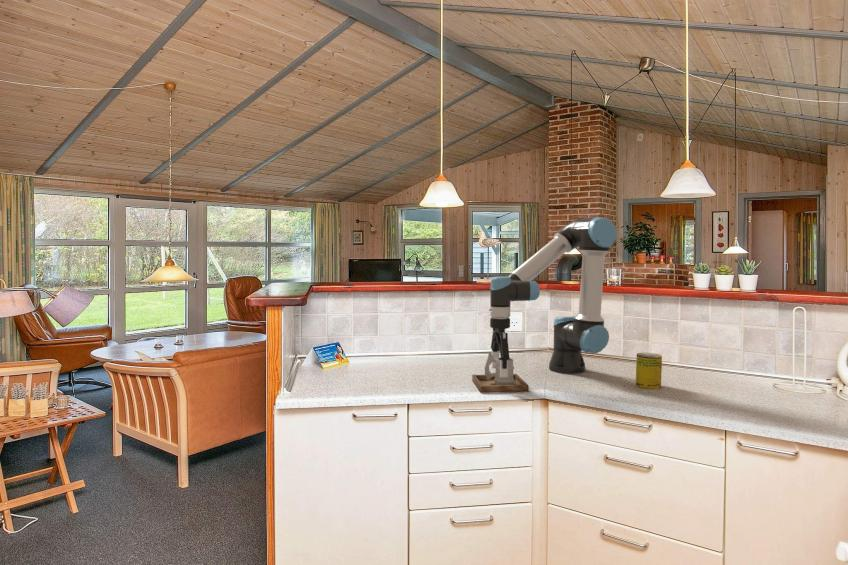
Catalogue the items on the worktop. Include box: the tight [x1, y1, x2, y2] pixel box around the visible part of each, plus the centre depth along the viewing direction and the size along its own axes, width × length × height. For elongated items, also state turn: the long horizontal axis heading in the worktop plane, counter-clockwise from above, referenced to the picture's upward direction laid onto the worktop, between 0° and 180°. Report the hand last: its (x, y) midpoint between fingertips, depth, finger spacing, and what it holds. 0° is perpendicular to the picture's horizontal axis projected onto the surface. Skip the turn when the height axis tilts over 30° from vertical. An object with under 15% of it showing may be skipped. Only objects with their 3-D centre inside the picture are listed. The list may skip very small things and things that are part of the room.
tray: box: [471, 373, 530, 394], centre depth 212 cm, size 18×17×2 cm
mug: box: [484, 351, 515, 385], centre depth 213 cm, size 8×12×12 cm, turn 68°
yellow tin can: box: [635, 352, 663, 390], centre depth 212 cm, size 9×9×12 cm
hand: (499, 372), depth 212 cm, fingers open, 13 cm apart
